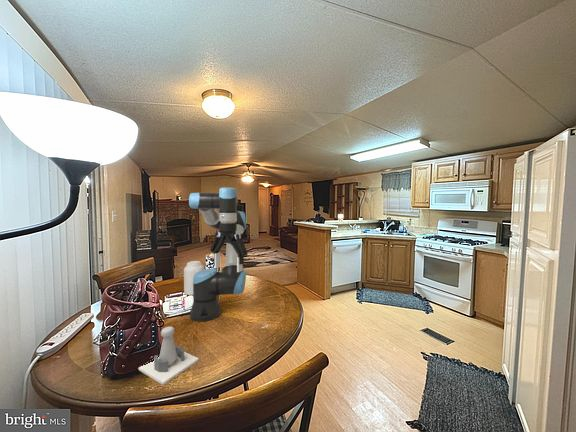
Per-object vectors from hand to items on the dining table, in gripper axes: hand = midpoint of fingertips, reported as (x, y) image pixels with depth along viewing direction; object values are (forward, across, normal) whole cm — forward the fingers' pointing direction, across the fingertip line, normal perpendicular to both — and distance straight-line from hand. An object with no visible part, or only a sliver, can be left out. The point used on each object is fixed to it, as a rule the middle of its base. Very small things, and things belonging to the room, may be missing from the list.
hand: (228, 269), depth 108 cm
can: (+29, -54, +25) cm, 66 cm away
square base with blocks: (+29, -2, -28) cm, 40 cm away
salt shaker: (+28, -2, -28) cm, 40 cm away
